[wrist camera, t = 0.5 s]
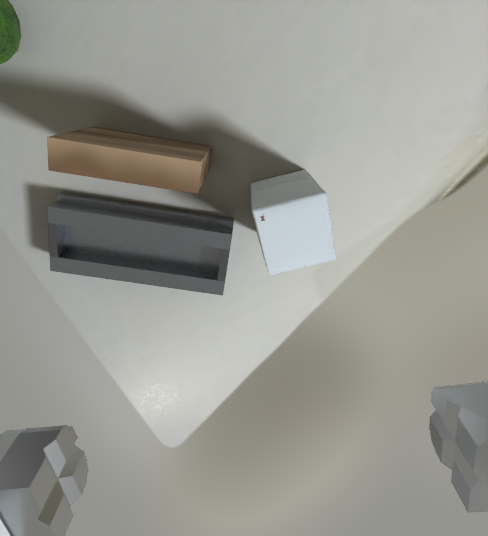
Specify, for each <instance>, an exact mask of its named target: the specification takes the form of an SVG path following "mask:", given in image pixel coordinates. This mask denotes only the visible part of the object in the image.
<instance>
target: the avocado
mask: <svg viewBox="0 0 488 536" xmlns="http://www.w3.org/2000/svg"><path fill="white" fill-rule="evenodd" d="M20 38H21V32H20V23H19V19H18V17H17V14H16V12H15V10H14V8H13V6H12V4H11V3H10V2H9V1H8V0H0V64H2V63H4V62H6V61H8V60H9V59H10V58H11V57H12V56H13V55H14V54H15V53H16V51H17V50H18V48H19V43H20Z"/></svg>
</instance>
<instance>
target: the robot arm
mask: <svg viewBox="0 0 488 536" xmlns="http://www.w3.org/2000/svg"><path fill="white" fill-rule="evenodd" d="M431 402H432V404H433V406H434V408H435V409H436V410H435V412H434V413H433V414H432V415H431V416H430V424H429V429H430V434H431V440H432V443H433V446H434V448H435V451H436V453H437V455H438V457H439V459H440V461H441V463H443V464H444V465H446V466H447V467H448V468H450V469H451V470H452V478H451V482H452V484H453V486H454V487H455V489H456V491H457V493H458V495H459V497H460V499H461V501H462V503H463V504H464V506H465V508H466V510H467V512H484V511H488V381H483V382H474V383H466V384H457V385H448V386H439V387H434V388H433V390H432V393H431ZM77 438H78V437H77V435H76V433H75V431H74V429H73V427H72V426H67V425H66V426H53V427H40V428H27V429H21V430H7V431H5V432H3V433H1V434H0V536H65V534H66V532H67V529H68V527H69V524H70V522H71V520H72V517H73V513H72V509H71V505H72V504H73V503H74V502H75V501H76V500H77V499H78V498H79V497H80V496H81V495H82V493H83V490H84V488H85V485H86V481H87V474H88V465H87V458H86V456H85V453H84V451H83V450H81V449H80V448H78V447H77V446H75V445H74V444H75V442H76V440H77Z"/></svg>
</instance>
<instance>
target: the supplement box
mask: <svg viewBox="0 0 488 536" xmlns="http://www.w3.org/2000/svg"><path fill="white" fill-rule="evenodd" d="M250 189H251V206H252V214H253V218H254V222H255V226H256V230H257V234H258V238H259V242H260V245H261V249H262V253H263V256H264V260H265V263H266V266H267V270H268V273H269V275H271V274H276V273H280V272H285V271H289V270H294V269H298V268H303V267H307V266H311V265H316V264H320V263H325V262H329V261H334V260H336V256H335V249H334V242H333V235H332V228H331V220H330V213H329V206H328V199H327V193H326V192H325V191H324V190H323V189H322V188H321V187H320V186H319V185H318V184H317V182H316V181H315V180H314V179H313V178H312V177H311V175H310V174H309V173H308V172H307V171H306V170H301V171H296V172H292V173H288V174H284V175H280V176H276V177H272V178H268V179H264V180H261V181H257V182H253V183H250Z"/></svg>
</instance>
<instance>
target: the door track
mask: <svg viewBox="0 0 488 536" xmlns="http://www.w3.org/2000/svg"><path fill="white" fill-rule="evenodd" d="M233 223H234V219H232V218H226V217H219V216H213V215H206V214H200V213H193V212H187V211H180V210H174V209H168V208H161V207H155V206H148V205H142V204H135V203H129V202H122V201H116V200H109V199H103V198H96V197H90V196H83V195H77V194H70V193H64V192H61V193H59V194H58V195H57V201H56V202H55V203H53V204H51V205H49V206H48V229H49V250H50V271H56V272H63V273H70V274H77V275H84V276H91V277H98V278H105V279H112V280H119V281H126V282H133V283H140V284H147V285H154V286H161V287H168V288H175V289H182V290H189V291H196V292H203V293H210V294H217V295H223V290H224V284H225V277H226V271H227V264H228V258H229V251H230V245H231V238H232V231H233Z"/></svg>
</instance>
